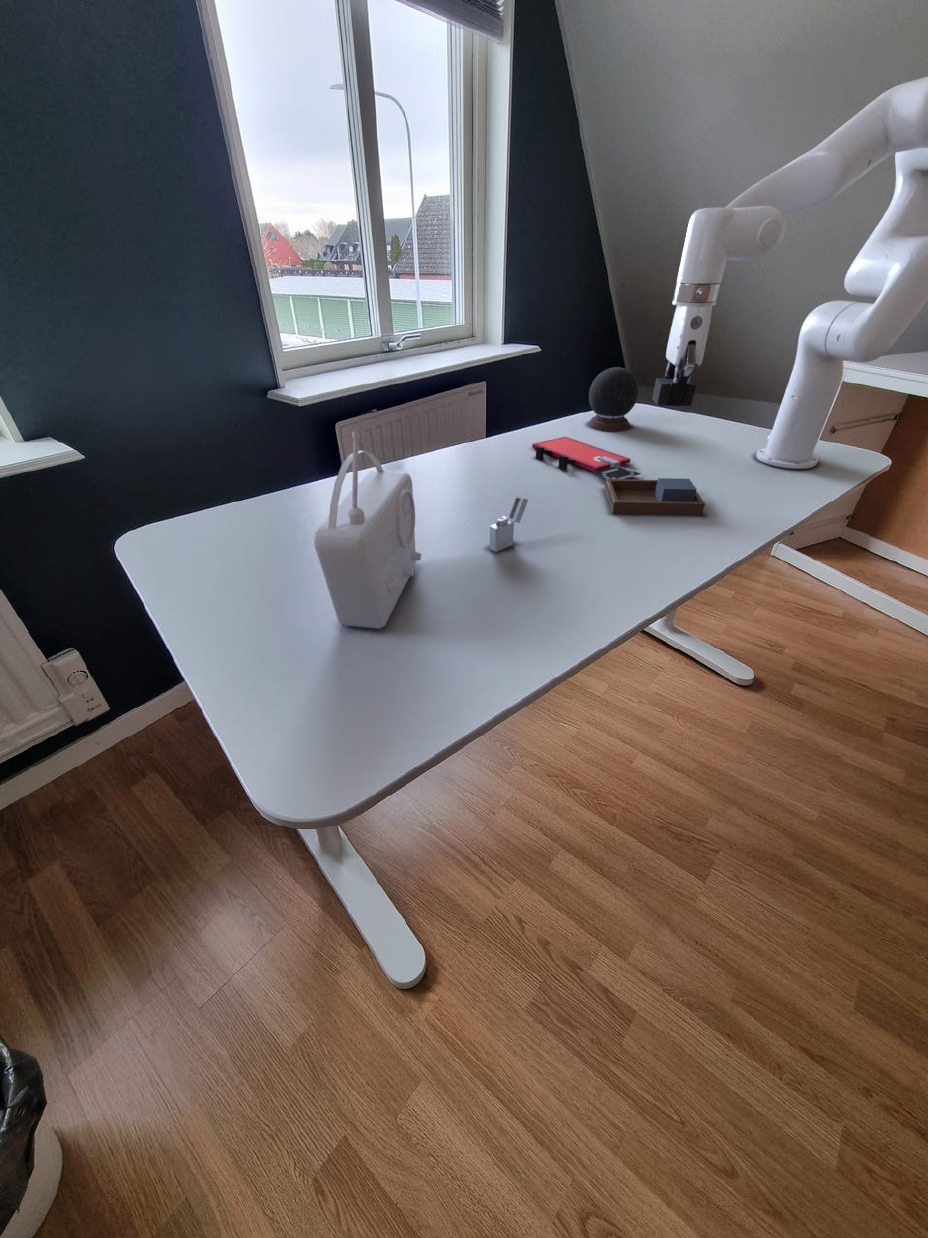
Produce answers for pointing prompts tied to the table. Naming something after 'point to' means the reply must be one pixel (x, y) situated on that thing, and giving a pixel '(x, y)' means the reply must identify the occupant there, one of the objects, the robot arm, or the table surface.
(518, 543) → the table surface
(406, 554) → the radio
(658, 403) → the black block
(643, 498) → the brown wooden tray
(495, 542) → the lighter
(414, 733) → the table surface
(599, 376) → the dark sphere on stand
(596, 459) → the red board with handle
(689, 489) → the pad
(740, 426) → the table surface
